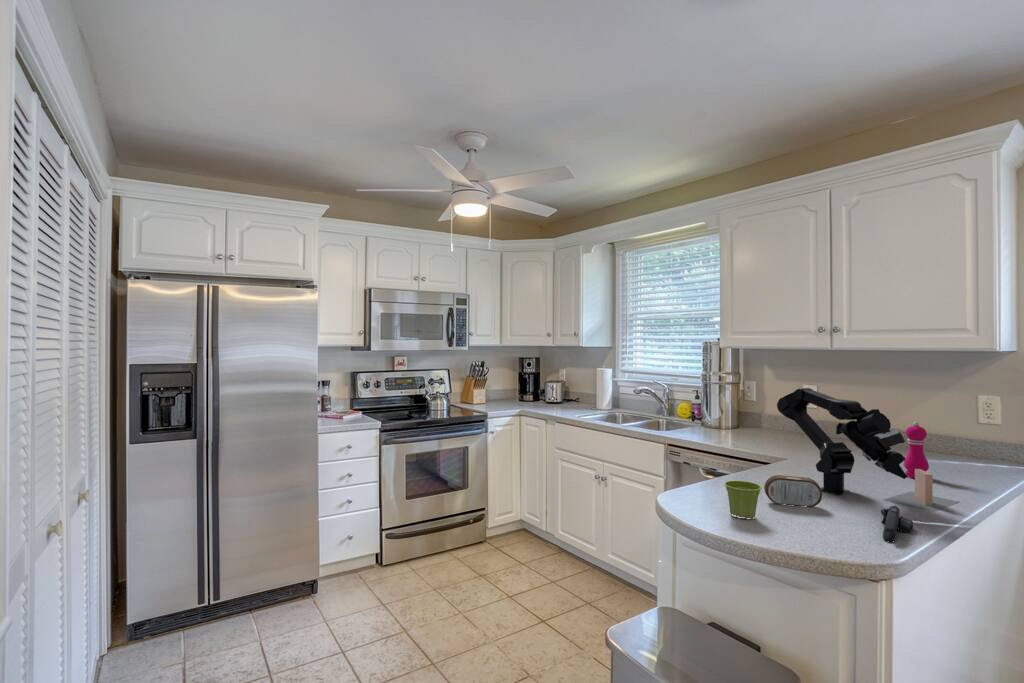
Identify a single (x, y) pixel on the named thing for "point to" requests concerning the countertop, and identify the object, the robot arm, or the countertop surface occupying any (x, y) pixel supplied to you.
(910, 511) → the countertop surface
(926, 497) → the tile
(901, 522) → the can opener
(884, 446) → the robot arm
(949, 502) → the mat
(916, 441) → the pepper mill
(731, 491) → the plant pot
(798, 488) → the tin
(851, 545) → the countertop surface
